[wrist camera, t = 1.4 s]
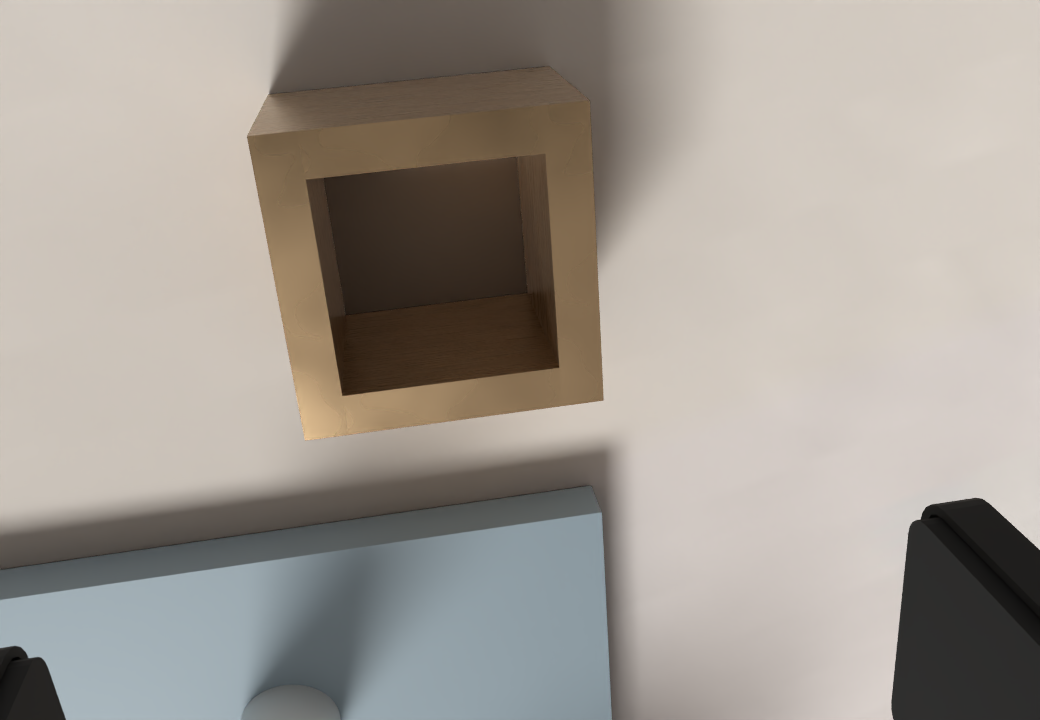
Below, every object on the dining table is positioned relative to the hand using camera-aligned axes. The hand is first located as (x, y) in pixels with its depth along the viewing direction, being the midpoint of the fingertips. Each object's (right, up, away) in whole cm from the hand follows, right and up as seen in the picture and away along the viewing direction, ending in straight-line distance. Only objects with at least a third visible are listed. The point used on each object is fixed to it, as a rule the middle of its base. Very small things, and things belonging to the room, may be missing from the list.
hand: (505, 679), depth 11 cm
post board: (-7, -7, +21) cm, 23 cm away
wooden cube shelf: (-2, +7, +15) cm, 17 cm away
